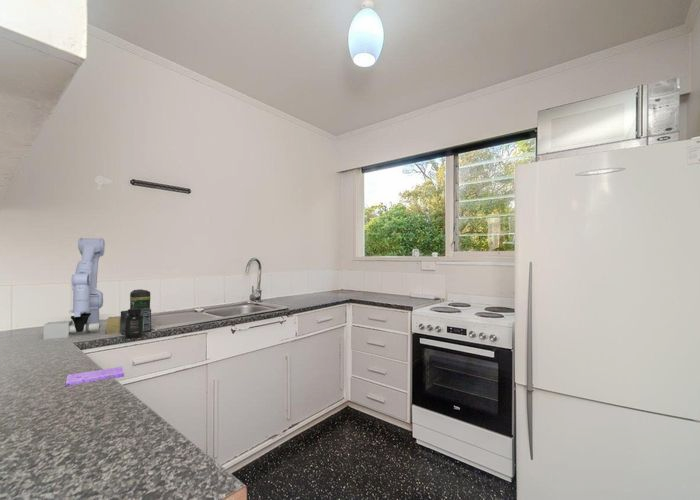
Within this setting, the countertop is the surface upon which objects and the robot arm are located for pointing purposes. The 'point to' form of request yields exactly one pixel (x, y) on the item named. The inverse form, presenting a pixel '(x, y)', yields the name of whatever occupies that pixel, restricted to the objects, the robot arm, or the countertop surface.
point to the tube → (85, 327)
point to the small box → (147, 319)
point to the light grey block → (57, 330)
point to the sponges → (94, 376)
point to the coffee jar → (140, 299)
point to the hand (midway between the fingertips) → (80, 330)
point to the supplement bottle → (134, 323)
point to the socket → (113, 325)
